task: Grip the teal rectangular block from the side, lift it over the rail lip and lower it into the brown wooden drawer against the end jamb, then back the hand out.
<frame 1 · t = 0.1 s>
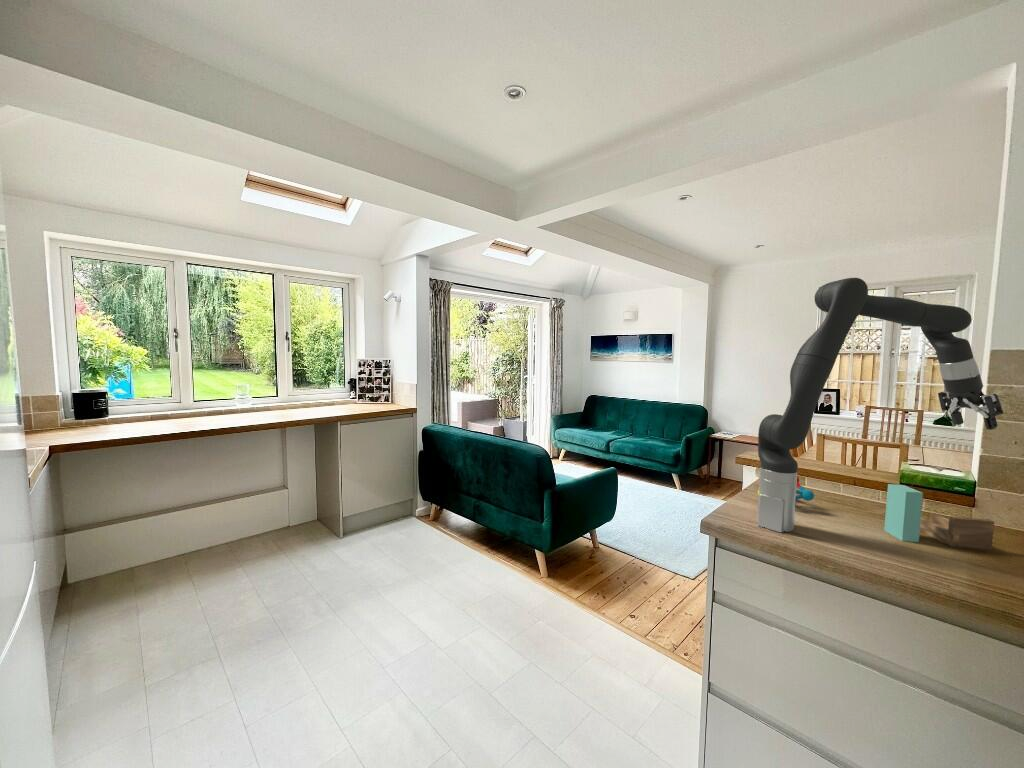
hand: (975, 426, 121), 31 cm above the table, tool tilted 20°, fingers open, 8 cm apart
brown wooden drawer: (942, 534, 119), on the table
molecular model: (780, 503, 143), on the table
teal rectangular block: (900, 536, 117), on the table
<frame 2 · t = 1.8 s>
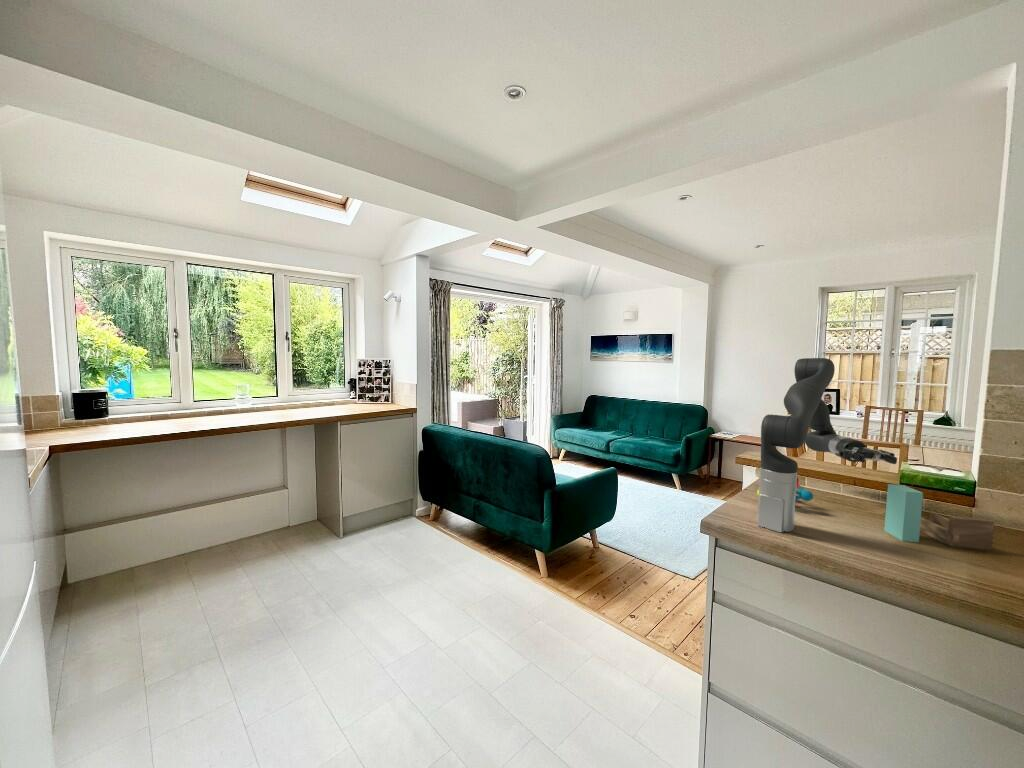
hand: (879, 460, 127), 19 cm above the table, tool horizontal, fingers open, 8 cm apart
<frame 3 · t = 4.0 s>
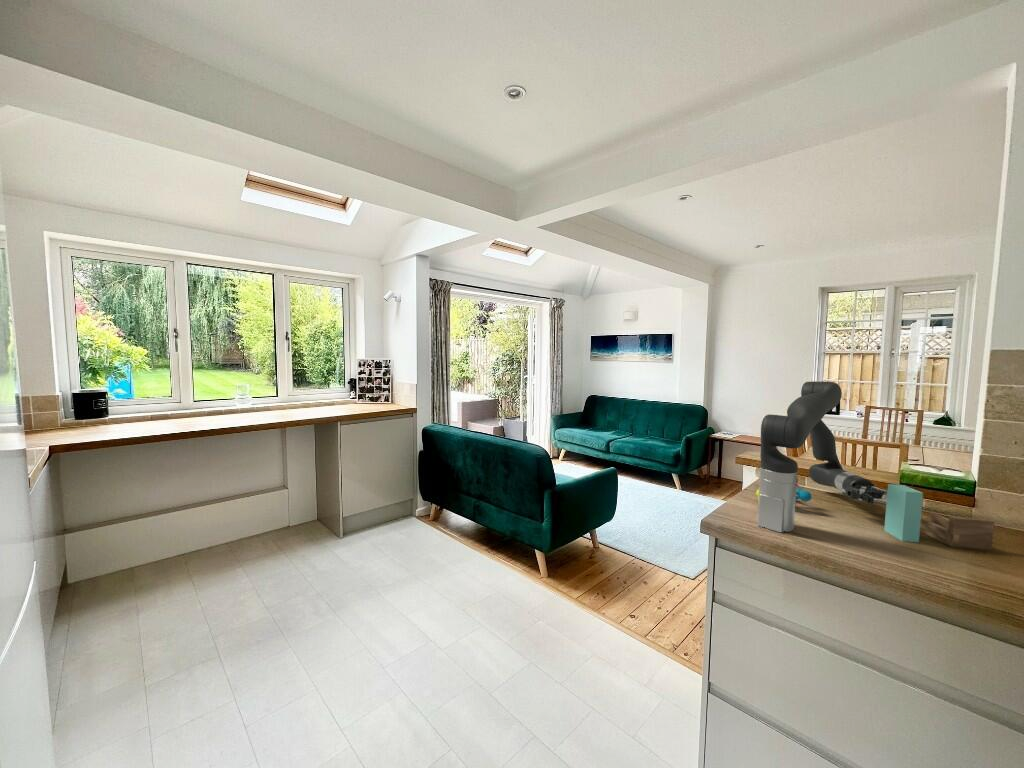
hand: (888, 502, 122), 8 cm above the table, tool horizontal, fingers open, 8 cm apart
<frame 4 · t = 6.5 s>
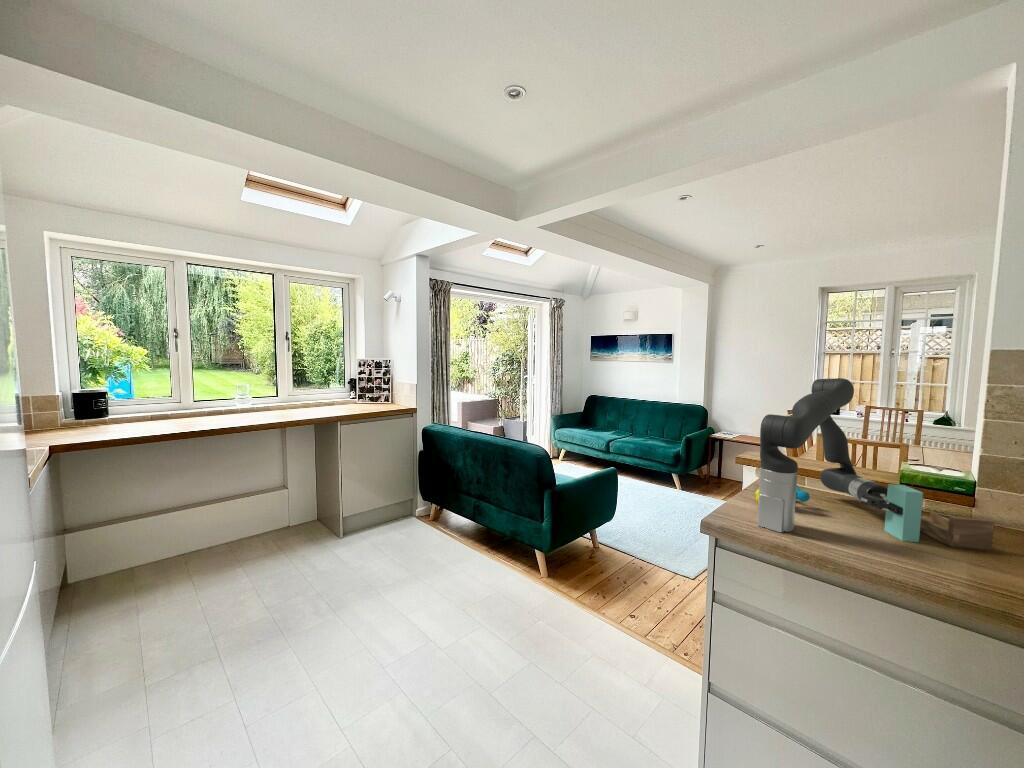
hand: (910, 512, 114), 8 cm above the table, tool horizontal, fingers closed on teal rectangular block, 4 cm apart
teal rectangular block: (900, 536, 117), on the table, touching gripper
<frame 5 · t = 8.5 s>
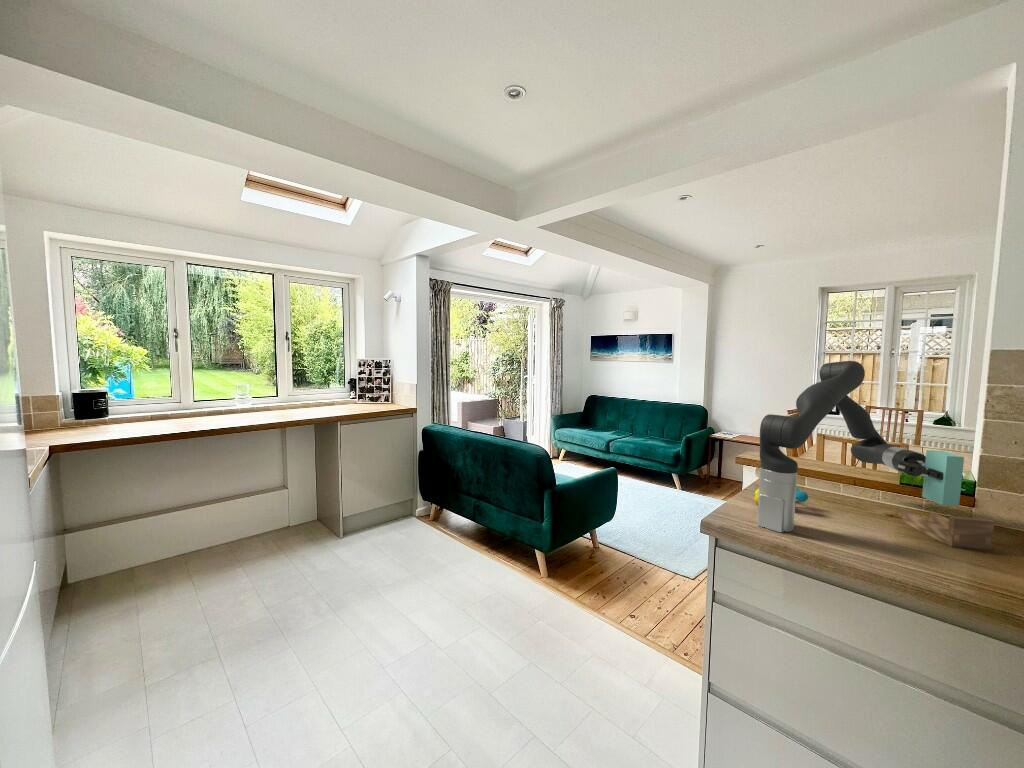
hand: (951, 476, 114), 18 cm above the table, tool horizontal, fingers closed on teal rectangular block, 4 cm apart
teal rectangular block: (939, 501, 118), point 10 cm above the table, touching gripper
when the fingers open (10 cm above the table, at t = 10.8 s): teal rectangular block drops 1 cm, resting on brown wooden drawer.
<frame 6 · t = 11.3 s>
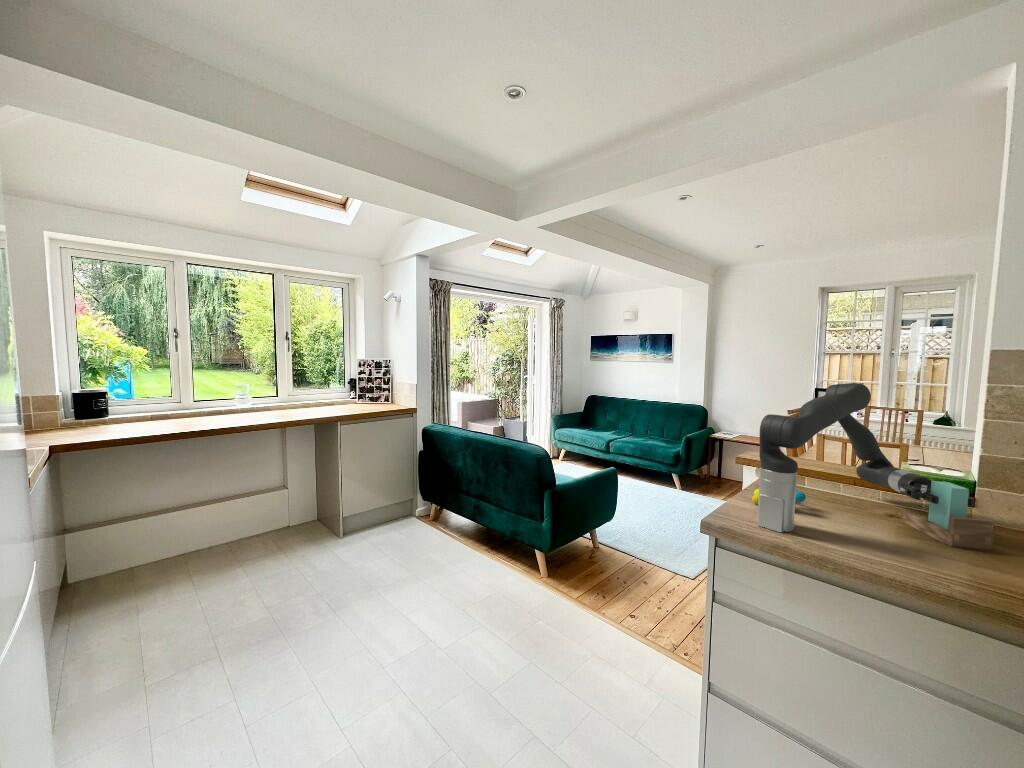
hand: (954, 501, 115), 11 cm above the table, tool horizontal, fingers open, 8 cm apart
teal rectangular block: (945, 532, 118), point 1 cm above the table, touching brown wooden drawer
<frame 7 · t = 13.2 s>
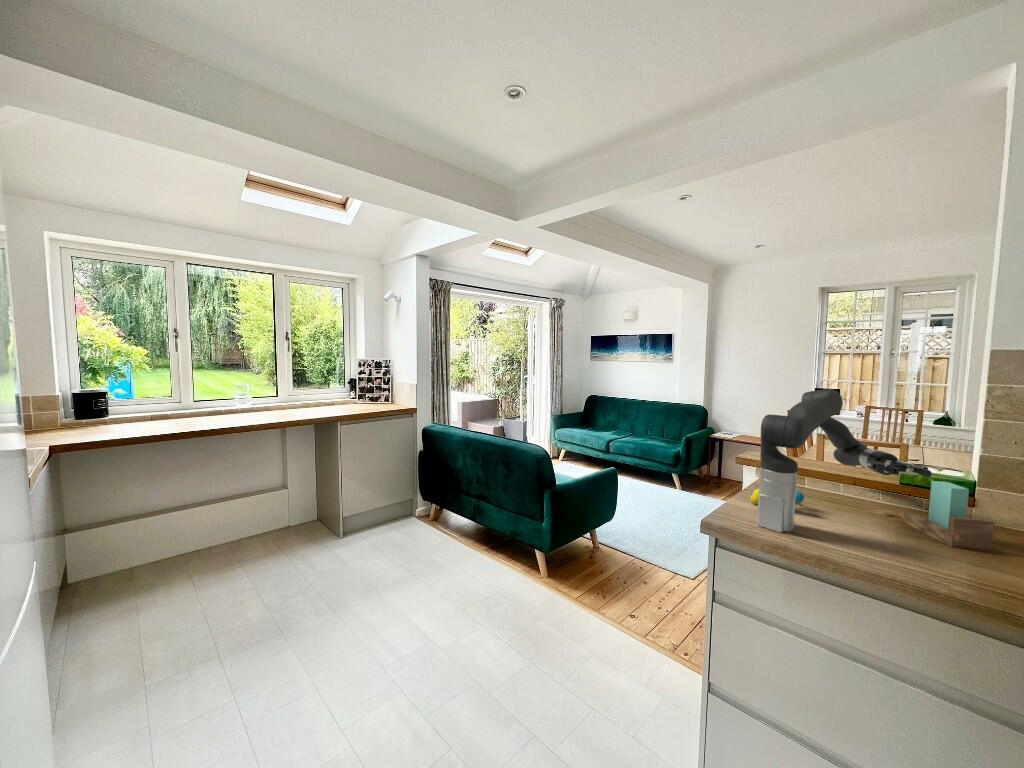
hand: (913, 473, 128), 15 cm above the table, tool horizontal, fingers open, 8 cm apart
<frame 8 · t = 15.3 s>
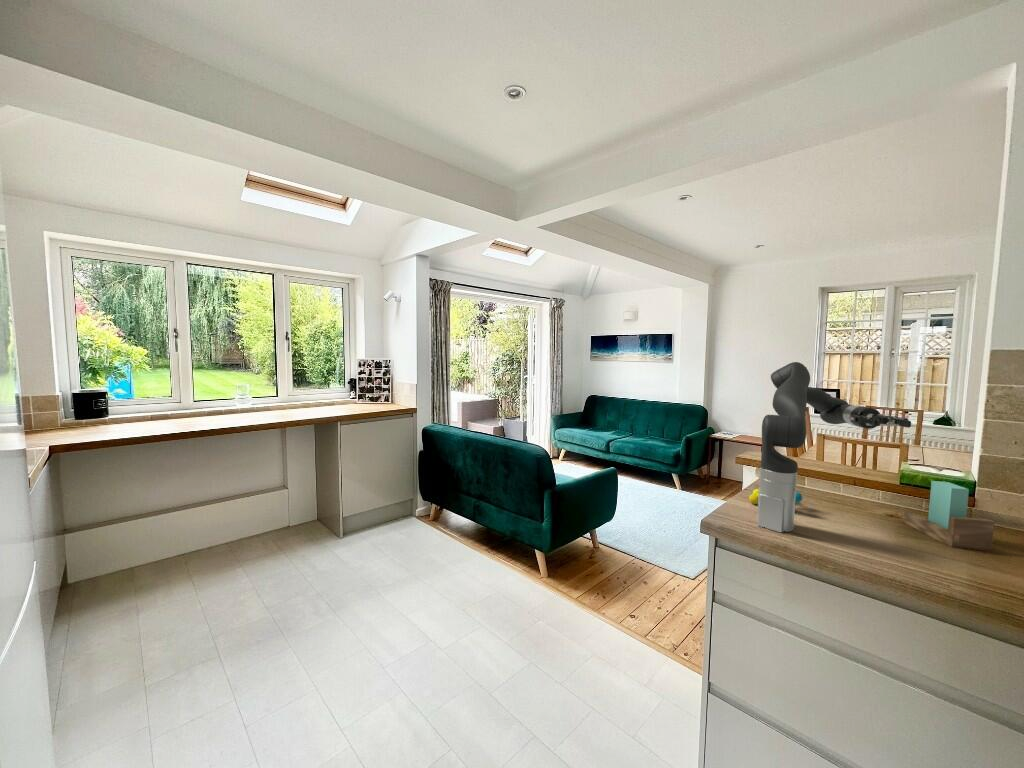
hand: (894, 423, 132), 30 cm above the table, tool horizontal, fingers open, 8 cm apart
at the end: teal rectangular block 0.3 cm off-centre on the brown wooden drawer, point 1.0 cm above the brown wooden drawer's base; teal rectangular block tilted 0°; the gripper is holding nothing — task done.
